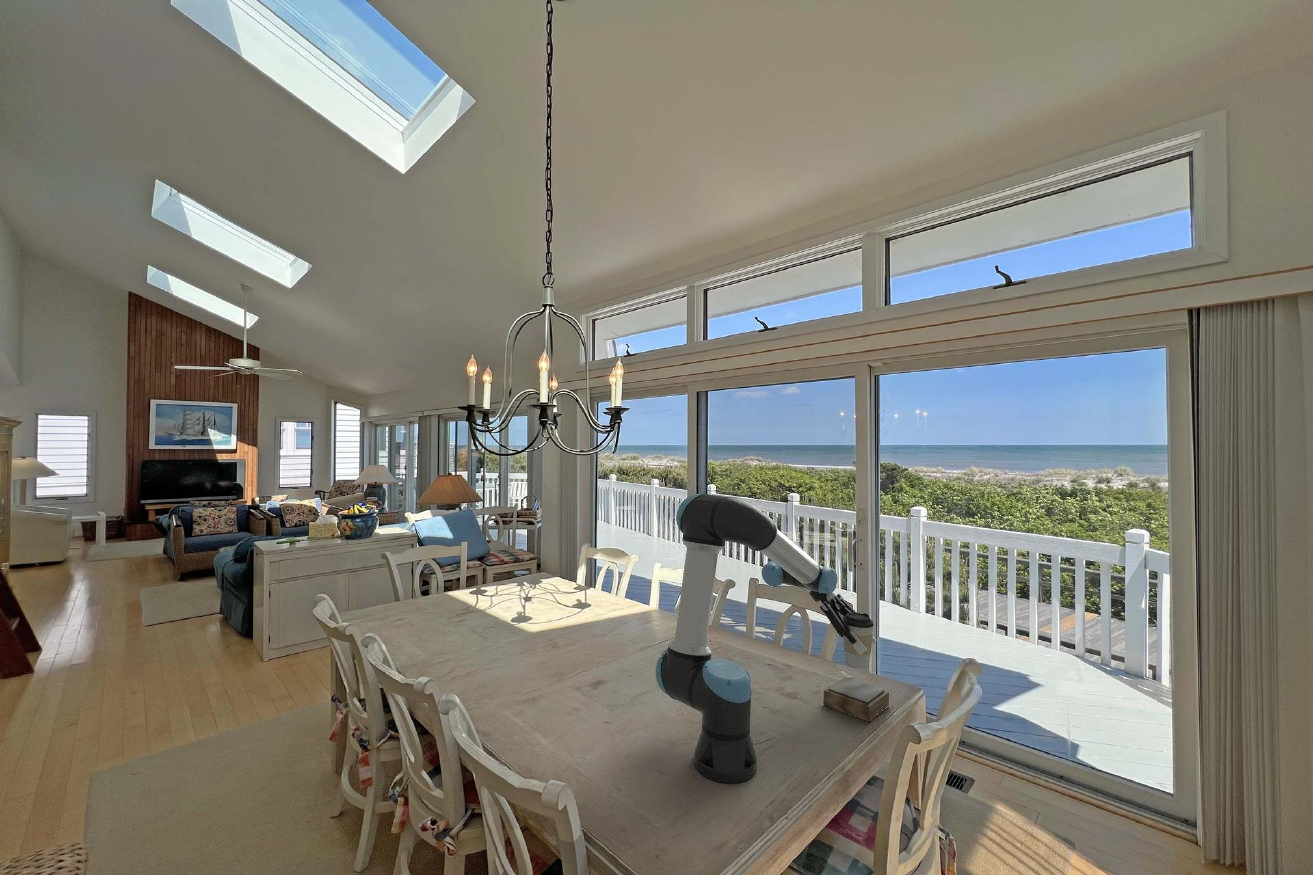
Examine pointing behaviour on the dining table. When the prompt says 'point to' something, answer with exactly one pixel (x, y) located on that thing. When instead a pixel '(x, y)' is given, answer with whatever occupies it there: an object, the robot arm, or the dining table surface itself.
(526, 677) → the dining table surface
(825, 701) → the walnut block
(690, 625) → the robot arm
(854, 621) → the coffee cup
